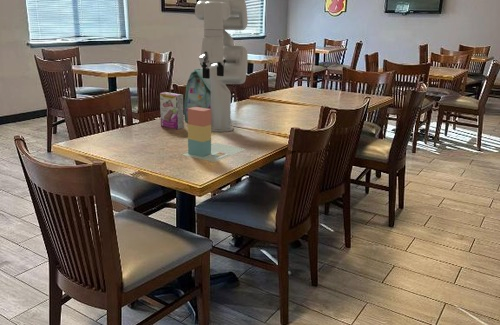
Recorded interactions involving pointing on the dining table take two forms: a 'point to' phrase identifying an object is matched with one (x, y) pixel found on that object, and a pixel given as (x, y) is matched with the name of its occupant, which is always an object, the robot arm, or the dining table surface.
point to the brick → (199, 116)
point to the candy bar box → (171, 110)
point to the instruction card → (218, 155)
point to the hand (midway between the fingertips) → (213, 77)
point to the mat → (218, 148)
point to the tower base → (199, 148)
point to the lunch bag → (197, 92)
